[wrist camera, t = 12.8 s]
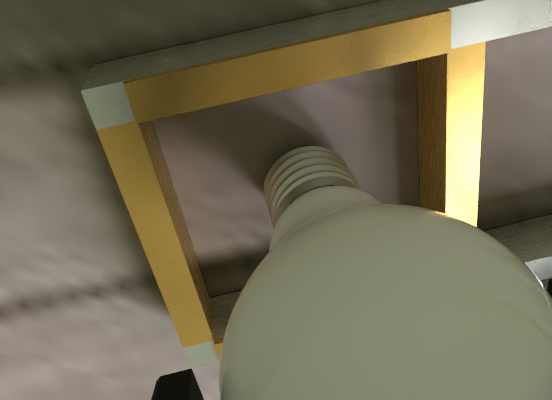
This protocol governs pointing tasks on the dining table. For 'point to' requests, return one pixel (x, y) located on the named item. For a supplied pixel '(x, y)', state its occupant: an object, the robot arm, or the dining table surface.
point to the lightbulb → (381, 301)
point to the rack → (295, 73)
